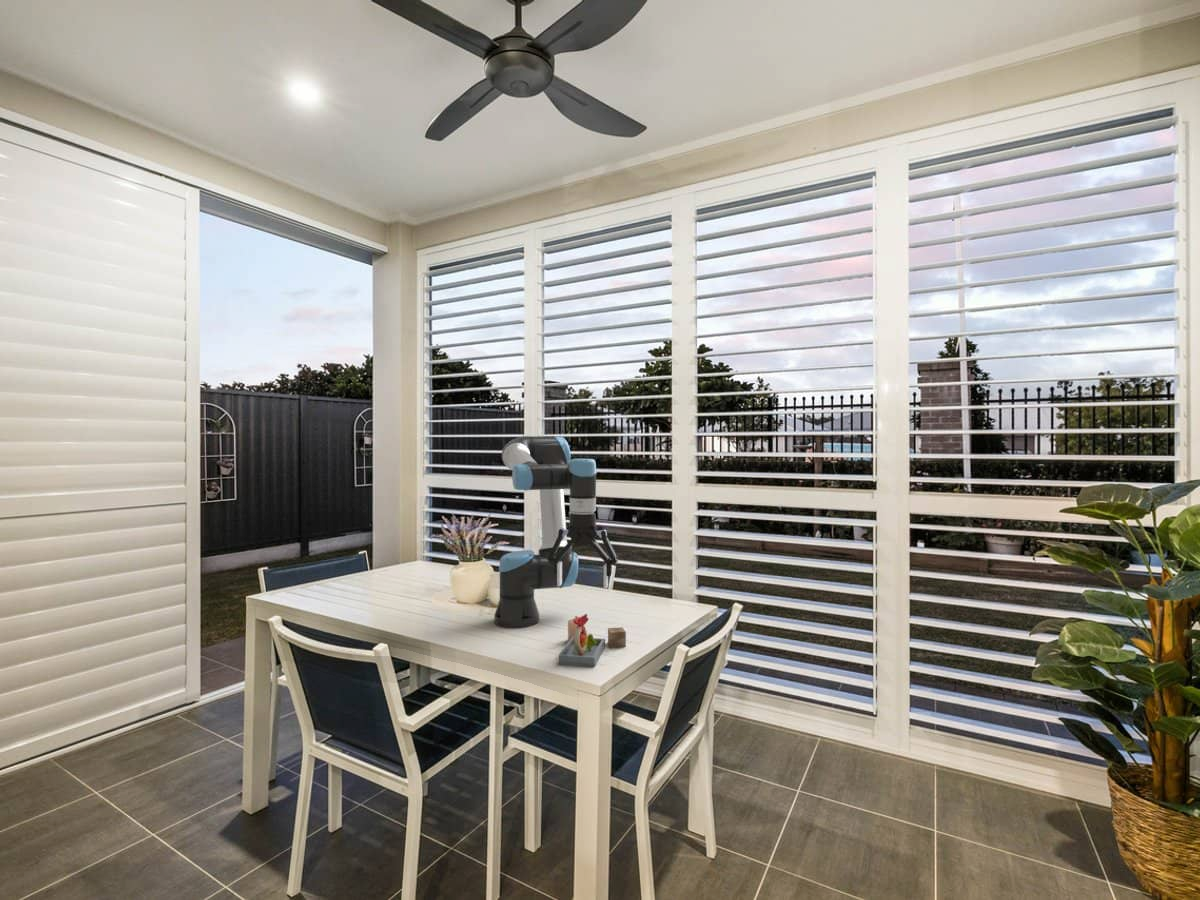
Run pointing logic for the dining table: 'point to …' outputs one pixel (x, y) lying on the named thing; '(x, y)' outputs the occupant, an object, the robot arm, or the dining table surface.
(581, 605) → the dining table surface
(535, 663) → the dining table surface
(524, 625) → the robot arm
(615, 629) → the walnut cube
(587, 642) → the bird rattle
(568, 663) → the tray
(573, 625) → the peach round-ended cylinder
